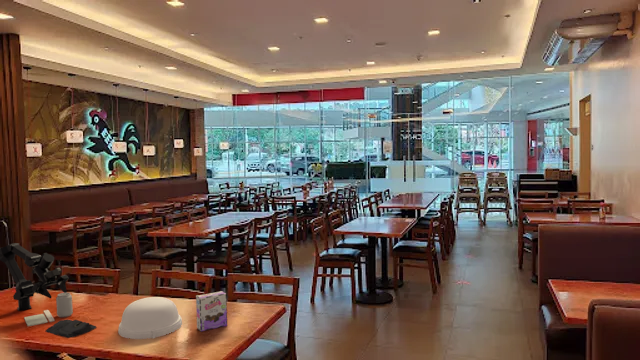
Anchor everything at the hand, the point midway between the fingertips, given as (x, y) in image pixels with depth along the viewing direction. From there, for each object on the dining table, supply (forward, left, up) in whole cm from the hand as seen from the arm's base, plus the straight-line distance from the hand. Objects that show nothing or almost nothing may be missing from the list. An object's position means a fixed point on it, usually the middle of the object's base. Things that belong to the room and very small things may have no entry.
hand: (58, 295), depth 262 cm
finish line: (-2, -5, -11) cm, 12 cm away
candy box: (+72, +56, -11) cm, 92 cm away
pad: (+1, -12, -11) cm, 16 cm away
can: (+3, +2, -11) cm, 12 cm away
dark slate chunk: (+29, 0, -11) cm, 32 cm away
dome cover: (+52, +32, -11) cm, 63 cm away
